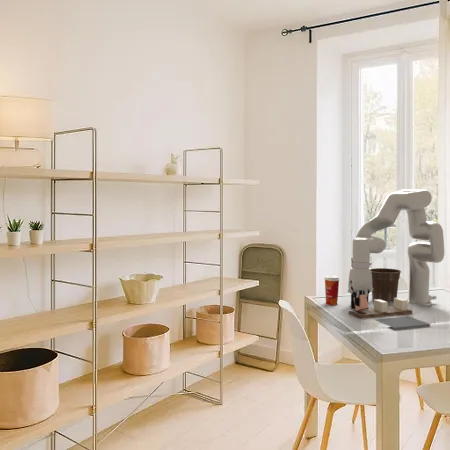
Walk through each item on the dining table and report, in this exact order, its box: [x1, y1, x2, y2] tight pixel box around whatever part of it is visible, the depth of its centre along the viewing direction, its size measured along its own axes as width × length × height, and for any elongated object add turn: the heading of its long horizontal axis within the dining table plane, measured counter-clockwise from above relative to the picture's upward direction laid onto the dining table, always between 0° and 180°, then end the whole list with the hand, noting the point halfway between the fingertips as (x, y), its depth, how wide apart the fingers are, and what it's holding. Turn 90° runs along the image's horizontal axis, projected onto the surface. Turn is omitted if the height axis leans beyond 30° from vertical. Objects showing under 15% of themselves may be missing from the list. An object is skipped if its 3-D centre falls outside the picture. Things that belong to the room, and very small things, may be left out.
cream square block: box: [393, 297, 409, 311], centre depth 233 cm, size 3×6×6 cm, turn 18°
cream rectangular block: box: [373, 299, 389, 312], centre depth 230 cm, size 3×6×6 cm, turn 19°
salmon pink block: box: [353, 294, 370, 311], centre depth 226 cm, size 3×6×6 cm, turn 18°
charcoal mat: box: [374, 315, 431, 331], centre depth 216 cm, size 18×14×1 cm
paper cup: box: [324, 275, 340, 306], centre depth 253 cm, size 8×8×14 cm
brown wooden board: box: [348, 305, 413, 320], centre depth 230 cm, size 28×9×3 cm, turn 109°
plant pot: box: [371, 267, 402, 303], centre depth 261 cm, size 16×16×16 cm
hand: (360, 305), depth 226 cm, fingers closed on salmon pink block, 2 cm apart
